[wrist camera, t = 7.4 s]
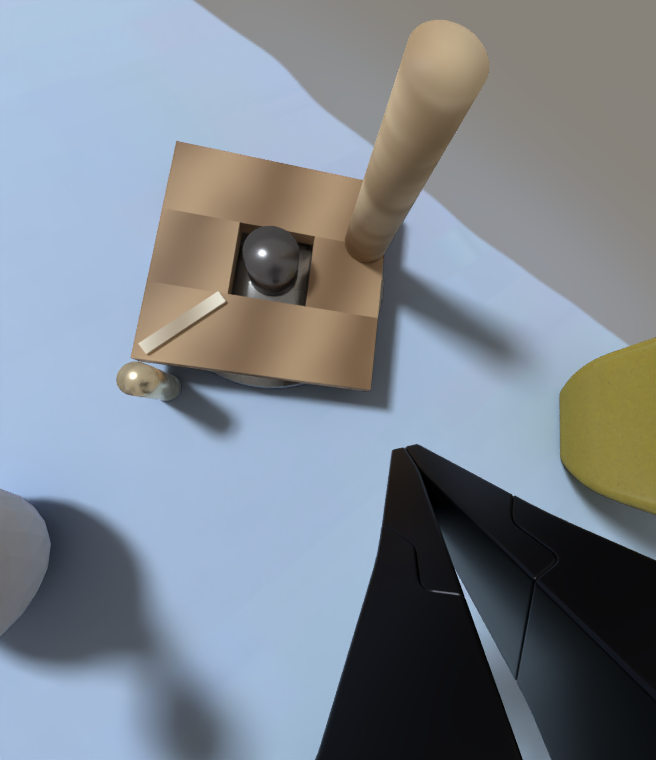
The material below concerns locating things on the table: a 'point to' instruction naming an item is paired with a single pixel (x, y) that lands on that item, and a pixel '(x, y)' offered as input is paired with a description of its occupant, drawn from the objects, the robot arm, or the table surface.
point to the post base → (252, 279)
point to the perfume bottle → (20, 556)
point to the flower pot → (613, 425)
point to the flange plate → (301, 234)
